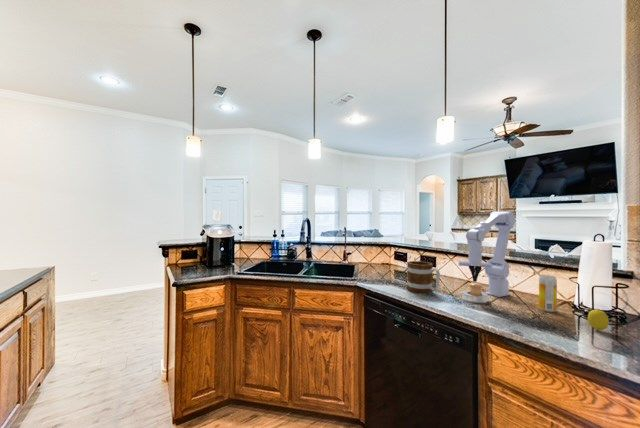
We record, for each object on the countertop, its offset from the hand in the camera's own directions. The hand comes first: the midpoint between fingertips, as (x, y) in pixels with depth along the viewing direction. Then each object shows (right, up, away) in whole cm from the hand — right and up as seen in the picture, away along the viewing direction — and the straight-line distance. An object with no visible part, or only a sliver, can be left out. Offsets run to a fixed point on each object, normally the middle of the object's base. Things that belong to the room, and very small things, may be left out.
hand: (474, 281), depth 140 cm
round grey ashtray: (0, -9, 0) cm, 9 cm away
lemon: (+25, -10, -37) cm, 45 cm away
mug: (-20, -9, +13) cm, 26 cm away
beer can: (+24, -9, -15) cm, 30 cm away
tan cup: (0, -8, 0) cm, 8 cm away
